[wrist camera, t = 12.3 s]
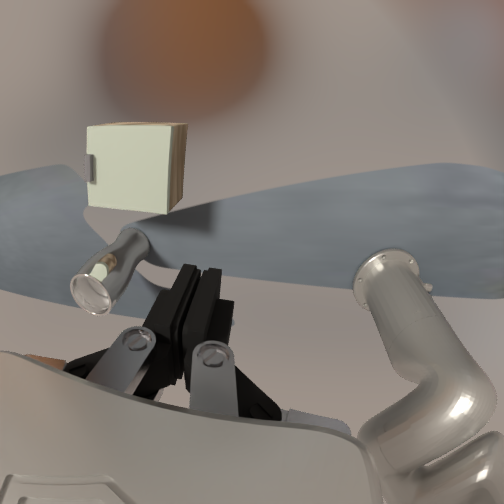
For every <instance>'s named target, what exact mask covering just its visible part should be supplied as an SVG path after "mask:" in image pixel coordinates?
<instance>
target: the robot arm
mask: <svg viewBox="0 0 504 504" xmlns="http://www.w3.org/2000/svg"><path fill="white" fill-rule="evenodd" d="M221 275H222V269H216V268H209V269H208V271H207V270H204V271H203V274H202V276H201V270H200V269H197V266H196V265H189V264H184V265H183V266H182V268H181V270H180V272H179V274H178V276H177V279H176V280H175V282H174V284H173V286H172V288H171V290H170V291H169V290H161V292H160V293H159V295H158V297H157V299H156V301H155V303H154V304H153V306H152V308H151V310H150V312H149V314H148V316H147V318H146V320H145V322H144V324H143V326H142V327H141V326H134V327H130V328H127V329H125V330H124V331H123V332H122V333H121V334H120V335H119V336H118V338H117V339H116V340H115V341H114V343H113V344H112V345H111V346H110V348H107V349H104V350H101V351H98V352H95V353H93V354H90V355H87V356H84V357H81V358H78V359H75V360H73V361H71V362H69V363H66V360H60V359H54V358H48V357H42V356H36V355H31V354H26V355H21V354H18V353H14V352H9V351H0V504H383V498H384V499H385V501H386V503H387V504H504V435H503V434H501V433H500V432H497V431H490V432H488V433H485V434H483V435H481V436H479V437H477V438H476V439H474V440H472V441H471V442H469V443H468V444H466V445H464V446H463V447H461V448H459V449H458V450H456V451H454V452H453V453H451V454H450V455H448V456H446V457H444V458H442V459H441V460H439V461H437V462H435V463H433V464H431V465H429V466H424V465H425V464H426V463H429V462H430V461H432V460H434V459H436V458H439V457H441V456H442V455H444V454H446V453H447V452H449V451H451V450H453V449H454V448H456V447H457V446H459V445H461V444H462V443H464V442H465V441H467V440H468V439H470V438H471V437H472V436H474V435H475V434H476V433H478V432H479V431H480V429H482V428H483V427H484V426H485V425H486V423H487V422H488V421H489V420H490V418H491V417H492V415H493V413H494V411H495V408H496V404H497V395H496V390H495V388H494V386H493V384H492V382H491V380H490V379H489V377H488V376H487V374H486V373H485V372H484V371H483V369H482V368H481V367H480V366H479V365H478V363H477V362H476V361H475V360H474V359H473V357H472V356H471V355H470V354H469V352H468V351H467V350H466V348H465V347H464V346H463V344H462V343H461V341H460V340H459V338H458V337H457V335H456V334H455V332H454V331H453V329H452V328H451V326H450V324H449V323H448V322H447V320H446V319H445V317H444V315H443V314H442V312H441V311H440V309H439V308H438V306H437V305H436V303H435V302H434V301H433V299H432V296H431V295H430V294H429V293H428V292H430V291H431V290H432V284H428V283H423V282H422V280H421V279H420V278H419V267H418V264H417V262H416V261H415V259H414V258H413V257H412V256H411V255H410V254H409V253H408V252H406V251H404V250H401V249H386V250H382V251H380V252H377V253H375V254H374V255H372V256H370V257H369V258H368V259H367V260H366V261H365V262H364V263H363V264H362V265H361V266H360V268H359V269H358V271H357V272H356V275H355V277H354V281H353V293H354V296H355V299H356V301H357V302H358V304H359V305H360V306H361V307H362V308H364V309H366V310H368V311H371V314H372V316H373V318H374V321H375V323H376V326H377V328H378V331H379V333H380V336H381V338H382V341H383V343H384V346H385V349H386V351H387V354H388V356H389V359H390V361H391V364H392V366H393V368H394V370H395V371H396V372H397V374H398V375H399V376H401V377H402V378H404V379H406V380H408V381H411V382H414V383H417V384H419V385H418V387H417V388H416V389H414V390H413V391H412V392H410V393H409V394H408V395H407V396H405V397H404V398H402V399H401V400H399V401H398V402H396V403H395V404H393V405H391V406H390V407H388V408H386V409H385V410H383V411H382V412H380V413H379V414H377V415H375V416H374V417H372V418H371V419H369V420H368V421H367V422H366V423H365V424H364V425H363V426H362V427H361V428H360V430H359V432H358V435H357V439H356V438H354V437H352V436H351V430H350V428H349V427H348V425H347V424H345V423H344V422H343V421H340V420H338V419H332V418H328V417H323V416H318V415H314V414H309V413H305V412H301V411H297V410H293V409H290V410H289V411H287V410H283V409H280V408H279V407H278V405H277V404H276V403H275V402H273V400H272V399H270V398H269V397H268V396H267V395H266V394H265V393H264V392H263V391H262V390H260V389H259V388H258V387H257V386H256V385H255V384H254V383H253V382H252V381H251V380H250V379H249V378H247V376H246V375H245V374H243V373H242V372H241V371H240V370H239V369H238V368H237V367H236V366H235V361H234V354H233V351H232V350H231V348H230V347H229V346H228V343H229V336H230V331H231V324H232V317H233V309H234V301H229V300H223V299H219V298H220V286H221ZM427 291H428V292H427ZM183 373H184V377H185V383H186V389H187V390H188V392H189V393H190V405H189V409H188V408H183V407H178V406H174V405H169V404H165V403H161V402H159V400H160V398H161V396H162V394H163V388H165V387H167V386H169V385H175V384H176V381H177V379H182V376H183ZM382 496H383V498H382Z"/></svg>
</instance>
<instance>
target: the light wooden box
mask: <svg viewBox="0 0 504 504" xmlns="http://www.w3.org/2000/svg"><path fill="white" fill-rule="evenodd" d="M105 125H164V126H174V131H173V143H172V158H171V175H170V199H169V211H170V210H171V209H172V208H173V207H174V206H175V205H176V204H177V203H178V202H179V201H180V200H181V199H182V196H183V179H184V164H185V151H186V139H187V129H188V124H183V123H157V122H120V123H119V122H118V123H108V124H102V125H95V126H105Z"/></svg>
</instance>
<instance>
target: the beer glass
mask: <svg viewBox="0 0 504 504" xmlns="http://www.w3.org/2000/svg"><path fill="white" fill-rule="evenodd" d="M149 250H150V245H149V241H148V239H147V237H146V236H145V235H144V234H143V233H142V232H141V231H139V230H138V229H135V228H127V229H124V230H123V231H121V233H120V234H119V236H118V237H117V239H116V240H115V242H114V243H112V244H111V245H109V246H107V247H105V248H103V249H102V250H100V251H98V252H97V253H96V254H94V255H93V256H92V257H91V258H89V259H88V260H87V261H86V262H85V264H84V265H83V266H82V267H81V268H80V269H79V271H78V272H77V273H76V275H75V276H74V277H73V278H72V280H71V283H70V289H71V293H72V296H73V298H74V299H75V301H76V302H77V304H78V305H79V306H80V307H81V308H82V309H84V310H85V311H86V312H88V313H90V314H92V315H96V316H104V315H106V314H108V313H109V312H110V310H111V309H112V308H113V306H114V305H115V304H116V303H117V302H118V300H119V299H120V298H121V297H122V295H123V294H124V292H125V291H126V289H127V287H128V285H129V283H130V281H131V278H132V276H133V273H134V271H135V268H136V266H137V265H138V263H139V262H140V261H141V260H143V259H145V258H146V257H147V255H148V254H149Z"/></svg>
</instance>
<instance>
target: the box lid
mask: <svg viewBox="0 0 504 504" xmlns="http://www.w3.org/2000/svg"><path fill="white" fill-rule="evenodd" d="M173 131H174V126H164V125H105V126H89V127H87V154H86V155H84V174H85V175H84V176H85V182H87V183H88V201H89V206H96V207H105V208H114V209H123V210H133V211H141V212H150V213H158V214H166V215H167V214H168V213H169V199H170V175H171V158H172V143H173Z"/></svg>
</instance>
